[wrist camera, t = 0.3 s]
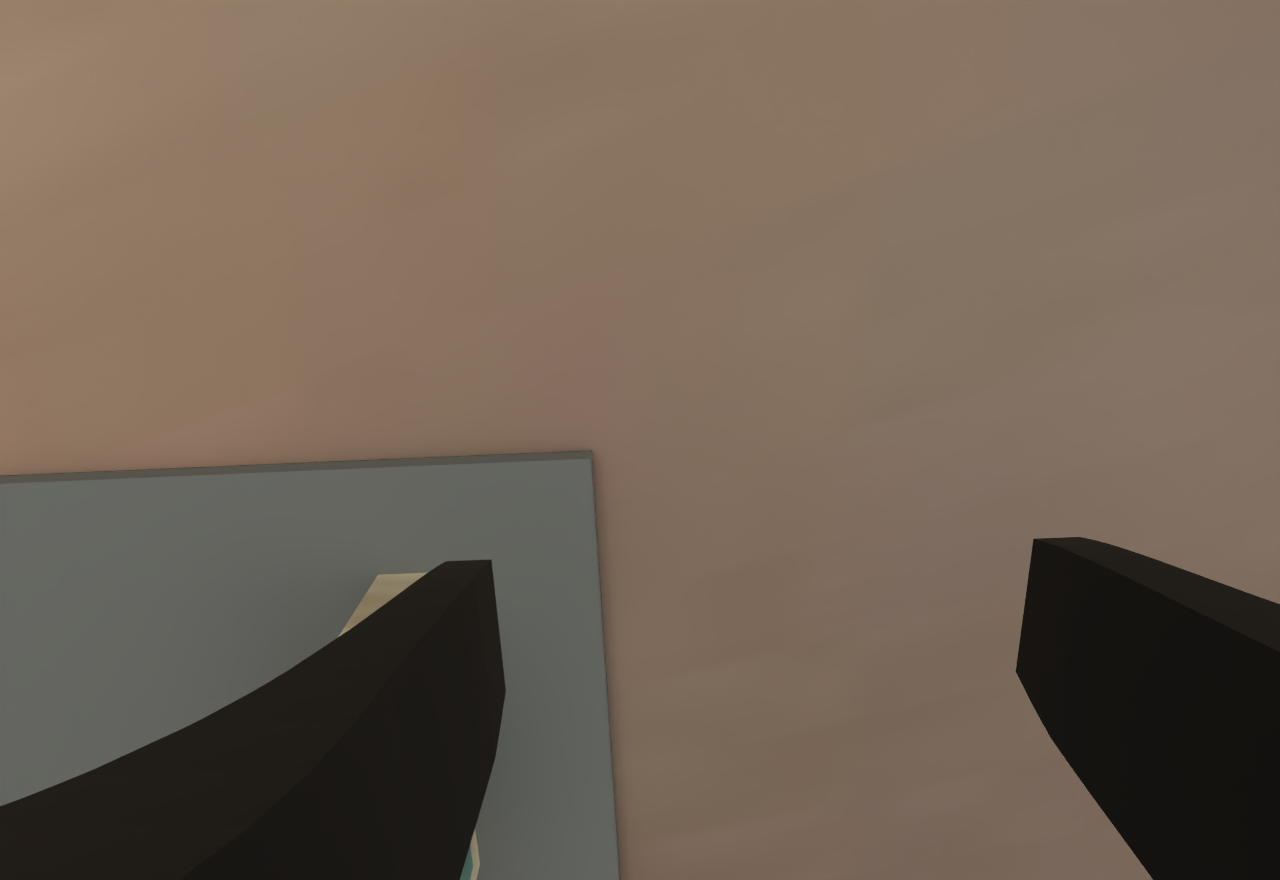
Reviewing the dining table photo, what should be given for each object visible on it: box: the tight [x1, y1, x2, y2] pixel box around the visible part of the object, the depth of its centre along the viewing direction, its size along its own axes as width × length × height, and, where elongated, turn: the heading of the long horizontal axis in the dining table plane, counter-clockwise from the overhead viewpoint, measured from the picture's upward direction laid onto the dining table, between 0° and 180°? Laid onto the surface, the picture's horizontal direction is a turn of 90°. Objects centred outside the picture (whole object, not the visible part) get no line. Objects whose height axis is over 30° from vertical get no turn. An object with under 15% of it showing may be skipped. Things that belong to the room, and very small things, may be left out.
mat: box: [0, 451, 620, 880], centre depth 22 cm, size 16×18×1 cm
